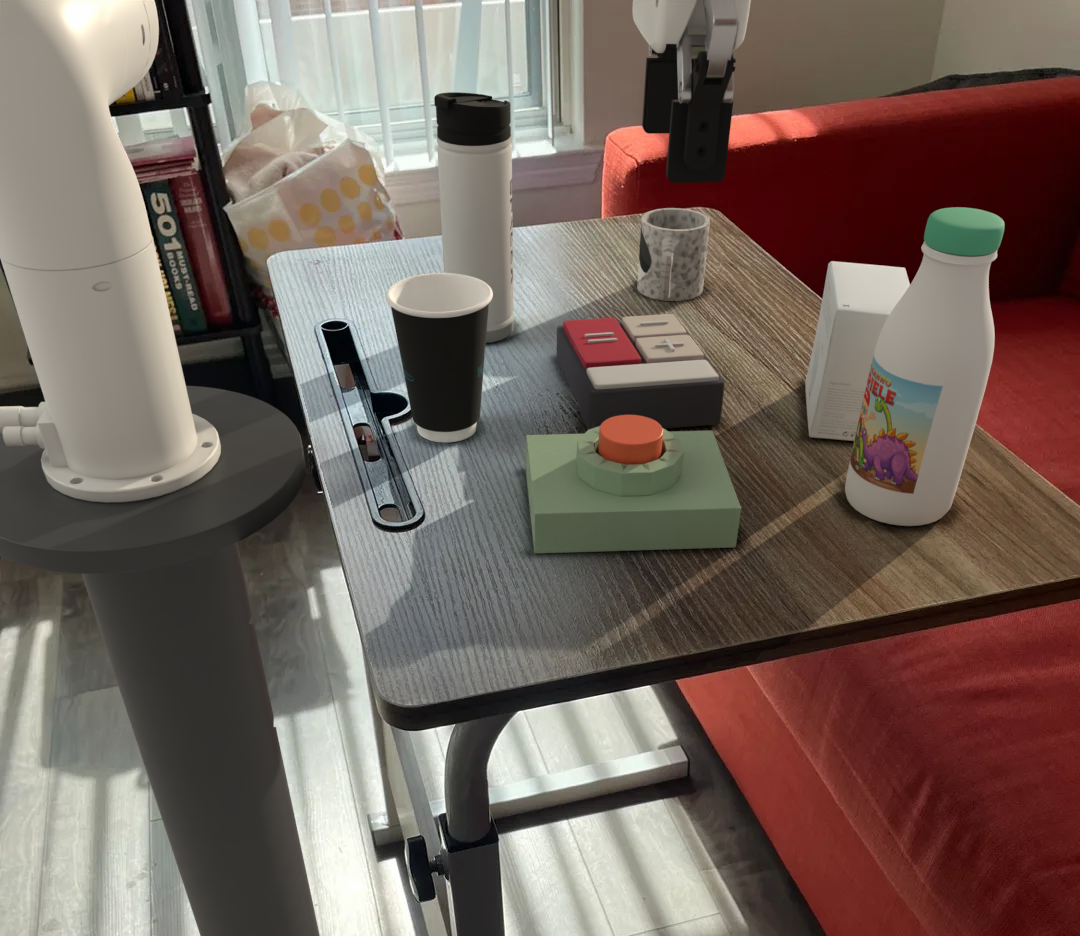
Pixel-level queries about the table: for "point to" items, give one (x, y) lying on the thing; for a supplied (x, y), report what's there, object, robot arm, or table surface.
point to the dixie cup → (442, 350)
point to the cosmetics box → (848, 343)
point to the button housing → (629, 496)
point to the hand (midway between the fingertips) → (680, 155)
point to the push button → (630, 439)
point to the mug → (672, 254)
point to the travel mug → (478, 197)
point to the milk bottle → (928, 376)
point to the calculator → (639, 371)
